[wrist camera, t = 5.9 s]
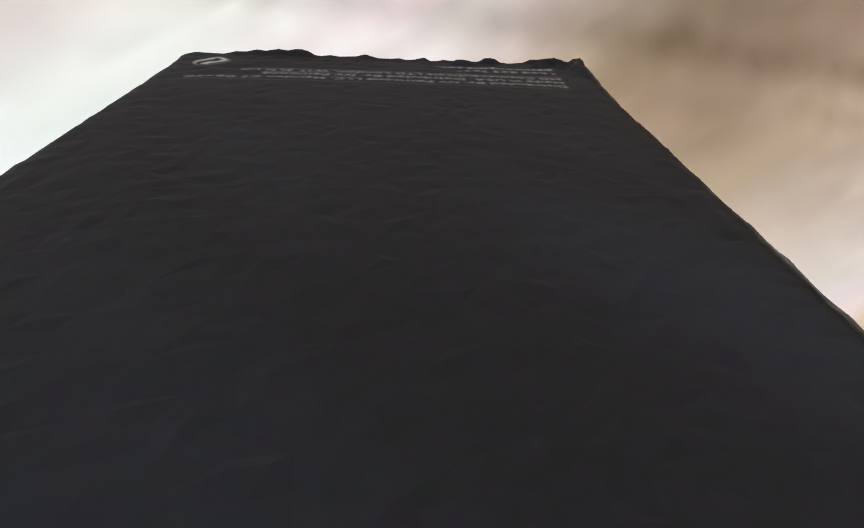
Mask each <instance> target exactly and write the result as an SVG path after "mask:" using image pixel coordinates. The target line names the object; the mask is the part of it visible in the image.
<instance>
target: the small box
mask: <svg viewBox="0 0 864 528" xmlns="http://www.w3.org/2000/svg"><path fill="white" fill-rule="evenodd" d="M0 528H864V330H863V329H862V328H861V327H860V326H859V325H858V324H857V323H856V322H855V320H853V319H852V318H851V317H850V316H849V315H848V314H846V313H845V312H844V311H843V310H841V309H840V308H839V307H837V306H836V305H835V304H834V303H832V302H831V301H830V300H828V299H827V298H826V297H825V296H824V295H823V294H822V293H821V292H820V291H819V290H818V289H817V288H816V287H815V286H814V285H813V284H812V283H811V282H810V281H809V280H808V279H807V278H806V277H805V276H804V275H803V274H802V273H801V272H800V271H799V270H798V269H797V268H796V266H795V265H794V264H793V263H792V262H791V261H790V260H789V259H788V258H786V257H785V256H784V255H782V254H781V253H779V252H778V251H777V250H776V249H775V248H774V247H773V246H771V245H770V244H769V243H768V242H767V241H766V240H765V239H764V238H763V237H762V236H761V235H760V234H759V233H758V232H757V231H756V230H755V229H754V228H753V227H752V226H751V225H750V224H749V223H747V222H746V221H744V220H743V219H742V218H741V217H740V216H739V215H737V214H736V213H735V212H734V211H733V210H731V209H730V208H729V207H728V206H727V205H726V204H724V203H723V202H722V201H721V200H720V199H719V198H718V197H717V196H716V195H715V194H714V193H713V192H712V191H711V190H710V189H709V188H708V187H707V186H706V185H705V184H704V183H703V182H702V181H701V180H700V179H699V178H698V177H697V176H695V175H694V174H693V173H692V172H690V171H689V170H688V169H687V168H686V167H685V166H684V165H683V164H682V163H681V162H680V161H679V160H678V159H677V158H676V157H675V156H674V155H673V154H672V153H671V152H670V151H669V149H668V148H665V147H664V146H663V145H662V144H661V143H660V142H659V141H658V140H657V139H656V138H655V137H654V136H653V135H652V134H651V133H650V132H649V131H647V130H646V129H645V128H644V127H643V126H642V125H641V124H639V123H638V122H636V121H635V120H634V119H633V118H632V117H631V116H630V115H629V114H628V113H627V112H626V111H625V110H624V109H623V108H621V107H620V105H619V104H618V103H617V102H616V100H615V99H614V98H613V97H612V96H611V95H610V94H609V93H608V92H607V91H606V90H605V89H604V88H603V87H602V86H601V84H600V83H599V81H598V80H597V79H596V78H595V76H594V75H593V74H592V73H591V72H590V71H589V70H588V69H587V68H586V67H585V65H584V63H583V61H582V60H581V59H580V58H579V59H572V60H571V61H569V62H568V63H567V62H564V61H562V60H559V59H555V58H552V59H541V60H529V61H526V62H524V63H514V64H506V63H499V62H498V61H497V60H495V59H492V58H485V59H483V60H481V61H478V62H470V61H467V60H455V61H447V60H441V61H429V60H427V59H426V58H421V59H415V60H403V59H399V58H397V59H380V58H375V57H372V56H368V55H361V56H356V57H338V56H332V55H328V56H317V55H314V54H312V53H311V52H309V51H306V50H302V49H294V50H289V51H287V50H281V49H276V50H269V51H263V50H252V51H247V52H241V51H235V52H231V53H226V54H219V53H203V52H193V53H188V54H185V55H182V56H181V57H180V58H179V59H178V60H177V61H175V62H174V63H172V64H171V65H170V66H169V67H167V68H165V69H163V70H162V71H160V72H159V73H157V74H156V75H154V76H152V77H151V78H150V79H149V80H147V81H146V82H145V83H143V84H142V85H140V86H138V87H136V88H135V89H133V90H132V91H130V92H129V93H127V94H126V95H124V96H122V97H121V98H119V99H118V100H116V101H115V102H113V103H112V104H110V105H108V106H107V107H106V108H104V109H103V110H101V111H100V112H98V113H97V114H95V115H93V116H91V117H89V118H88V119H87V120H85V121H84V122H83V123H81V124H80V125H78V126H76V127H74V128H73V129H71V130H70V131H68V132H67V133H65V134H64V135H62V136H61V137H59V138H58V139H56V140H55V141H53V142H52V143H50V144H49V145H47V146H45V147H44V148H42V149H41V150H39V151H38V152H36V153H35V154H34V155H32V156H31V157H29V158H28V159H26V160H25V161H23V162H20V163H18V164H16V165H14V166H13V167H12V168H10V169H9V170H8V171H7V172H5V173H4V174H3V175H1V176H0Z"/></svg>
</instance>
